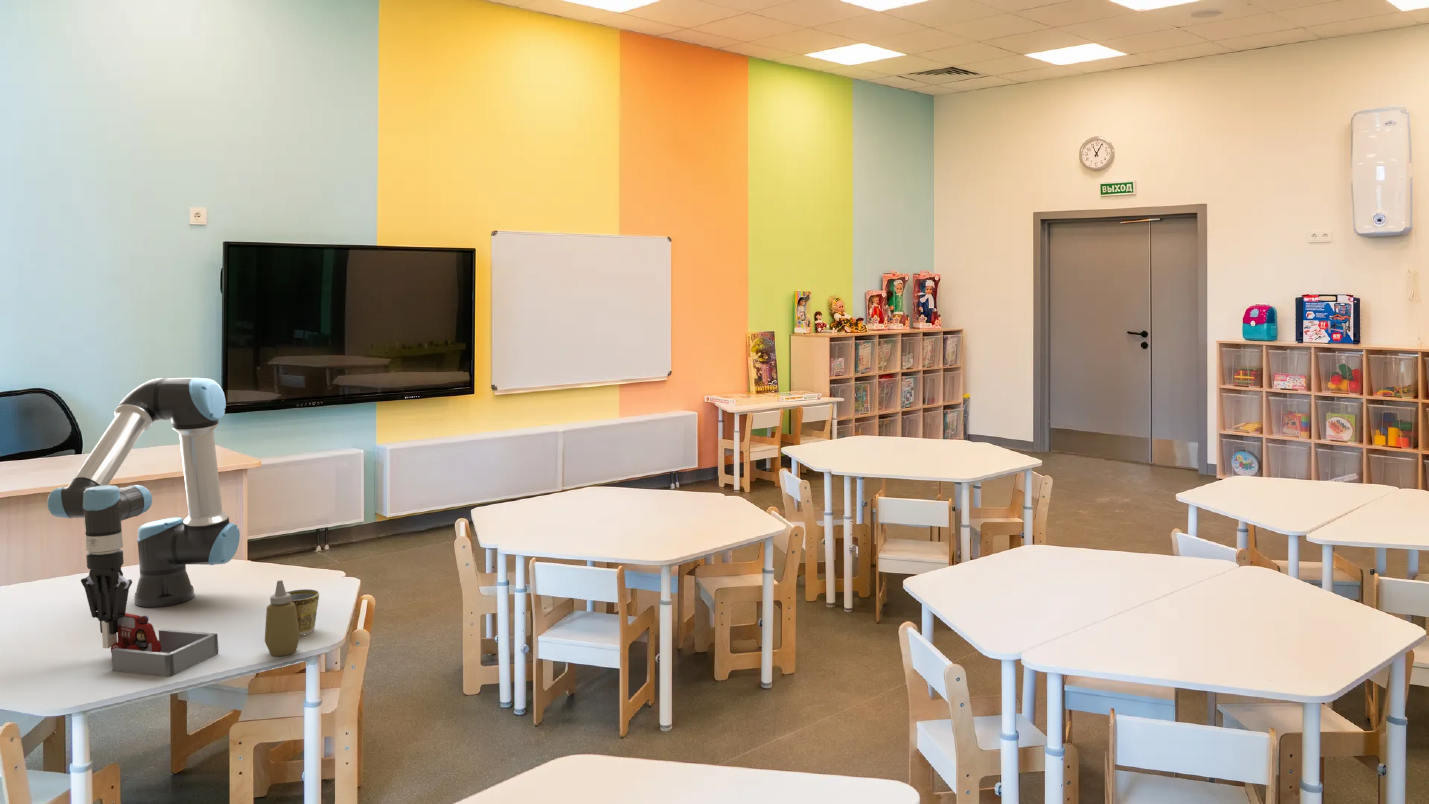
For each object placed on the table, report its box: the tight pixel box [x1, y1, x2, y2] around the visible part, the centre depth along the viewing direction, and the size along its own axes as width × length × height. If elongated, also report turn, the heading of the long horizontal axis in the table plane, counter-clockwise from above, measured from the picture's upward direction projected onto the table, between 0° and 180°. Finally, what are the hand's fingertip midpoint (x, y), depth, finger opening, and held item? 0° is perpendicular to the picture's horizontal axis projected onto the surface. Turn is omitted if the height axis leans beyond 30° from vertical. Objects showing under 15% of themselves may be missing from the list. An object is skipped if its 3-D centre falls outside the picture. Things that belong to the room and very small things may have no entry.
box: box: [110, 628, 219, 678], centre depth 238 cm, size 16×15×5 cm
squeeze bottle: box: [264, 579, 301, 657], centre depth 243 cm, size 8×8×18 cm
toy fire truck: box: [110, 612, 162, 653], centre depth 241 cm, size 7×12×10 cm, turn 67°
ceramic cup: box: [286, 588, 320, 636], centre depth 260 cm, size 13×10×10 cm
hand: (110, 646), depth 241 cm, fingers closed
